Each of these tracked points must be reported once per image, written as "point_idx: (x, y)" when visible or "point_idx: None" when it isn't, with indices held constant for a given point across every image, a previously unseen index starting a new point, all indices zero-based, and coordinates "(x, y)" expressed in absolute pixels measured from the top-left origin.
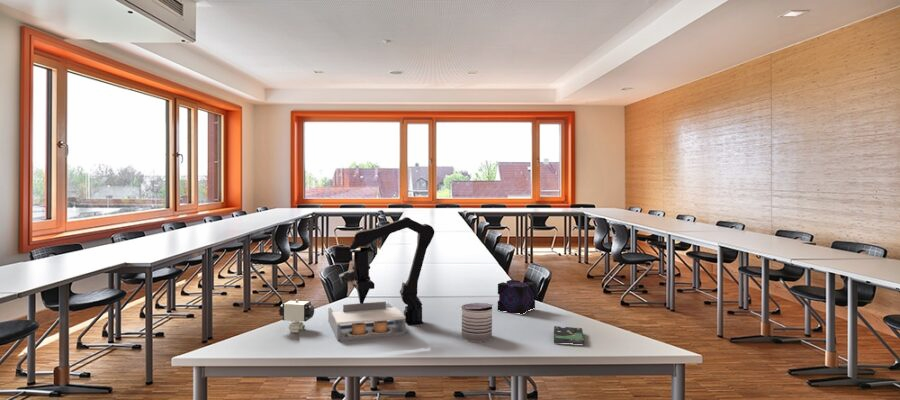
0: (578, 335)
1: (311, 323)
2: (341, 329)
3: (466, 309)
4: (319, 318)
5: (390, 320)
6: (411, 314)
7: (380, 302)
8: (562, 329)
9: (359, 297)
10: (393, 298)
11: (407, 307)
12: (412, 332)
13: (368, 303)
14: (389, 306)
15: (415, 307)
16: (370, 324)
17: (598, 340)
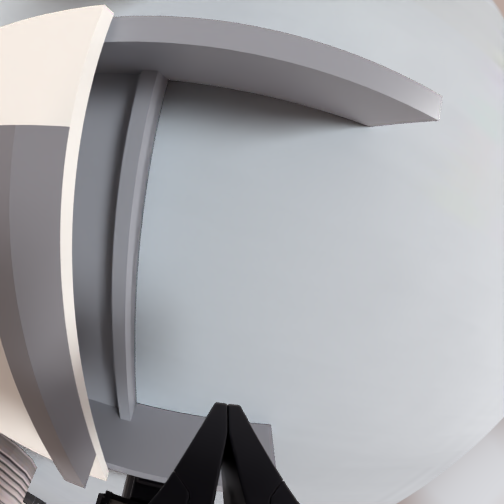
0: None
1: (425, 41)
2: (115, 115)
3: (7, 497)
4: (489, 132)
5: (176, 423)
6: (128, 479)
7: (58, 465)
8: (28, 501)
9: (184, 453)
10: (463, 452)
11: (146, 502)
12: None
13: (27, 408)
14: None
15: (97, 502)
16: (115, 321)
17: None
